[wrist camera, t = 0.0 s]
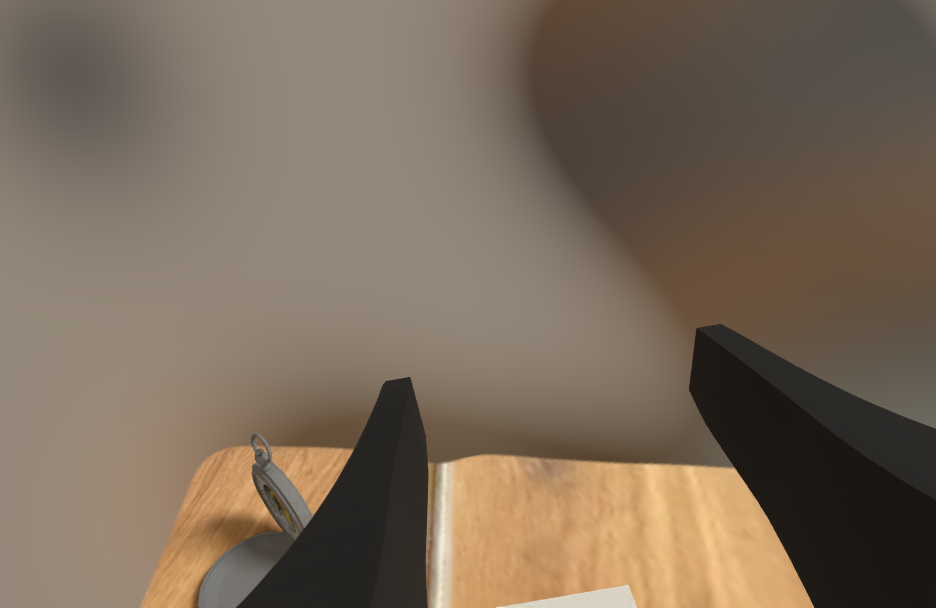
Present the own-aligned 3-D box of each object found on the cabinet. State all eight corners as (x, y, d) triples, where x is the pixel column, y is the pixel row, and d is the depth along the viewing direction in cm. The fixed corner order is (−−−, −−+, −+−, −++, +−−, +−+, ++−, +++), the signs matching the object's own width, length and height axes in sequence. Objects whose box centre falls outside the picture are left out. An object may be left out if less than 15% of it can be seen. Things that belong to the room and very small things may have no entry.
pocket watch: (181, 632, 32) (104, 522, 27) (253, 517, 39) (202, 415, 34) (302, 645, 30) (241, 530, 25) (353, 522, 37) (314, 415, 33)
